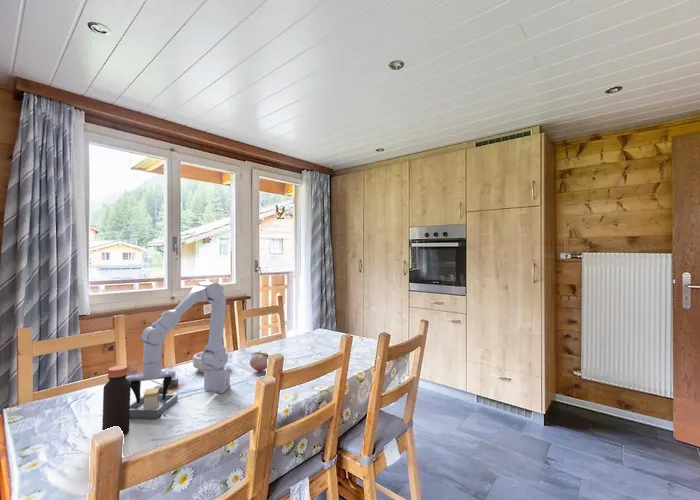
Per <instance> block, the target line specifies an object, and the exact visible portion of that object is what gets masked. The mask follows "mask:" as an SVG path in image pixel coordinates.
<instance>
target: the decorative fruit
mask: <svg viewBox="0 0 700 500" xmlns="http://www.w3.org/2000/svg"><path fill="white" fill-rule="evenodd" d="M268 356H269V354H268V353H267V352H261V350H260V351H259V352H257V351H255V352H253V353H252V354H251V358H250V359H249V364H250V367H251V368H252V369H253V370H255V371H256V372H258V373H261V372H263V371H265V370H266V369H267V368H268V367H267V359H268ZM269 357H270V356H269Z"/></svg>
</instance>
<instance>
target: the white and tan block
mask: <svg viewBox="0 0 700 500" xmlns="http://www.w3.org/2000/svg"><path fill="white" fill-rule="evenodd" d="M143 396H144V403H143V409H157V408H159V404H160V401H159V388H154V387H152V388H146V389H145V392H144V394H143Z"/></svg>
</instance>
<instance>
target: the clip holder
mask: <svg viewBox="0 0 700 500" xmlns="http://www.w3.org/2000/svg"><path fill="white" fill-rule="evenodd" d="M184 386H185V383H184V384H183V383H179V378H177V377H175V378H172V380H171V382H170V384H169V386H168V389H167V391H166V394H175V392H177V391H178V390H180V389H181V388H182V387H184ZM153 388H159V394H163V385H156V386H154V387H153Z"/></svg>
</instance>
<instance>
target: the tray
mask: <svg viewBox="0 0 700 500" xmlns="http://www.w3.org/2000/svg"><path fill="white" fill-rule="evenodd" d="M162 397H163V394H159V402H164V403H163V404H161V405H160V406H158V408H157V409H144V408H138V407H140V406H141V405H143V404H144V395H141V396H140V403H137V401H136V400H134V401H133V402H131V403H130V420H158V419H160V418H161V417H162V416H163V412H165V411H166V410H167V409H169V407H171V406H172V405H174V404H175V403H176V402H177V401H178V399H179V398H178V397H179V396H178V394H175V393H173V394H166V396H165V400H162Z"/></svg>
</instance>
